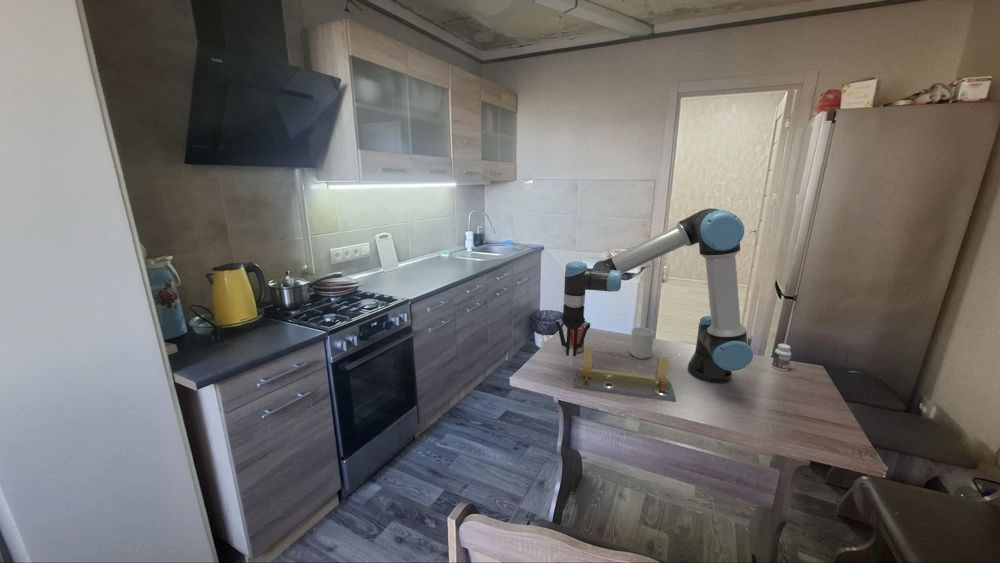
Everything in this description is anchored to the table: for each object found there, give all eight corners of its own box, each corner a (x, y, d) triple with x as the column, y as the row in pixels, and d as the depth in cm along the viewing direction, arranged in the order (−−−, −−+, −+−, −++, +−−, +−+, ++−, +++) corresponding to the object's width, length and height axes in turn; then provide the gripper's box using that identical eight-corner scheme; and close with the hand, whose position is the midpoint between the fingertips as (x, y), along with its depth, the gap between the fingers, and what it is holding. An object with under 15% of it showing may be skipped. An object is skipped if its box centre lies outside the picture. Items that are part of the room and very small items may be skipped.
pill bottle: (770, 363, 160) (775, 341, 157) (786, 366, 157) (791, 344, 155) (772, 369, 155) (777, 346, 153) (789, 372, 153) (794, 349, 150)
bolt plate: (670, 385, 142) (674, 356, 139) (675, 401, 132) (679, 370, 129) (576, 373, 151) (578, 346, 148) (574, 387, 140) (576, 358, 137)
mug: (648, 361, 161) (651, 336, 158) (627, 356, 166) (629, 332, 163) (655, 351, 171) (657, 327, 168) (634, 346, 175) (636, 323, 173)
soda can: (586, 351, 170) (588, 323, 167) (575, 355, 167) (576, 326, 163) (575, 345, 176) (576, 318, 173) (563, 349, 172) (565, 321, 169)
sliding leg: (591, 372, 149) (593, 347, 146) (590, 382, 141) (592, 356, 138) (582, 371, 149) (584, 346, 147) (581, 381, 142) (583, 355, 139)
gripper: (592, 302, 143) (588, 361, 150) (557, 300, 147) (554, 357, 153) (591, 309, 136) (587, 370, 143) (554, 306, 140) (552, 365, 146)
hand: (570, 363), depth 148 cm, fingers closed
